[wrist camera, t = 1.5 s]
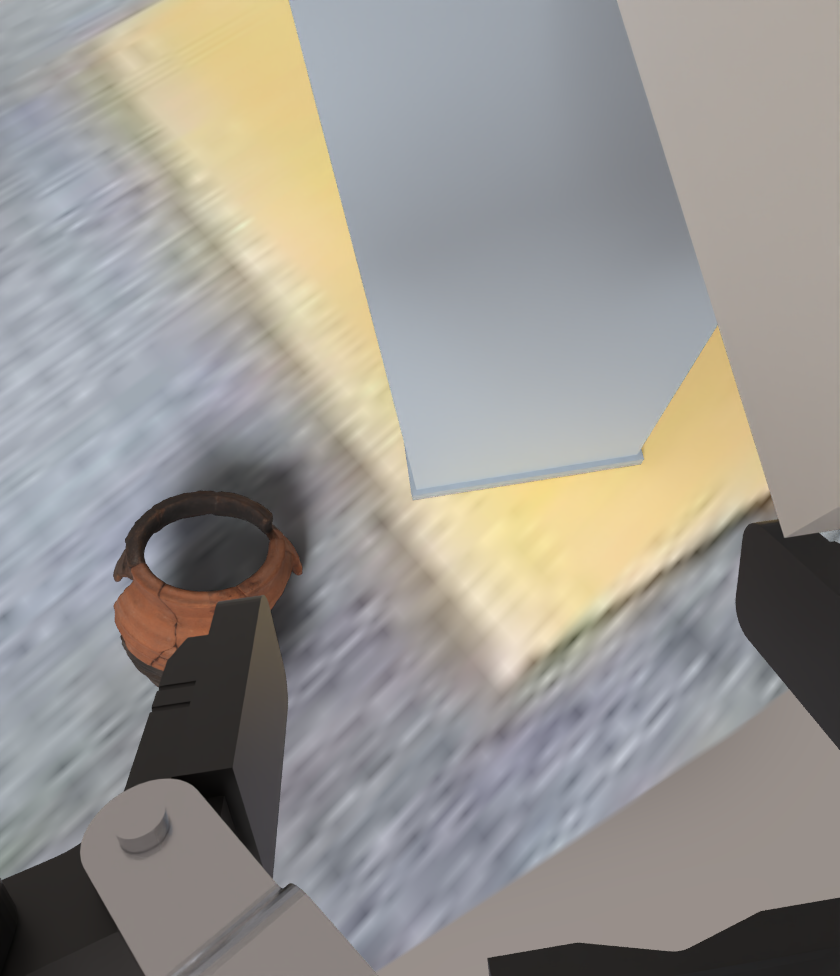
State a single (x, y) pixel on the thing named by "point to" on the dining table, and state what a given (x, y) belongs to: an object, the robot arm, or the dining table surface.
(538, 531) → the dining table surface
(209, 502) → the pottery mug
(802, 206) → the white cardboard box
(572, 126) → the post
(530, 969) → the robot arm
